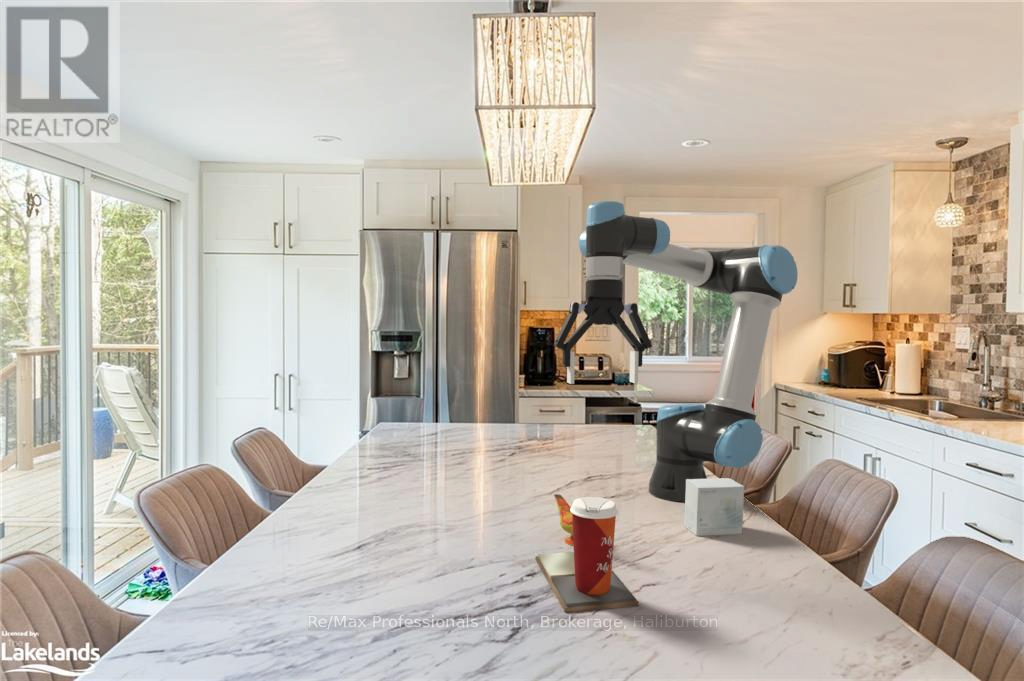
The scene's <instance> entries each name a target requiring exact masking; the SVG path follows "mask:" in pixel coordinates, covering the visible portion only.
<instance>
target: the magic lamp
mask: <svg viewBox="0 0 1024 681" xmlns="http://www.w3.org/2000/svg"><path fill="white" fill-rule="evenodd" d="M553 496H554V499H555V502H556V506H557V509H558V514H559V520H560V521H559V524H560V526H561V528H562V529H563V531H565V532H566V533H568V534H570V536H567V537H566V538H565V539H564V543H565V544H567V545H568V546H571V547H574V545H573V521H572V513H571V511H570V508H571V507H572V506H570V504H569V503H568V502H567V500H565V497H563V496H562V494H558V493H557V494H553Z"/></svg>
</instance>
